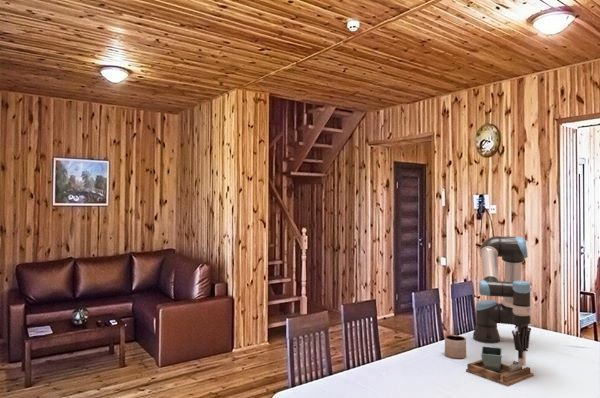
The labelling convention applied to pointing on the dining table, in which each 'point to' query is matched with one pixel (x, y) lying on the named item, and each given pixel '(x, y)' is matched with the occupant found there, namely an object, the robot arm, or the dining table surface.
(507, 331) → the dining table surface
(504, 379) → the frame
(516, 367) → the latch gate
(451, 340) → the planter
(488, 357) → the flower pot
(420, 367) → the dining table surface
